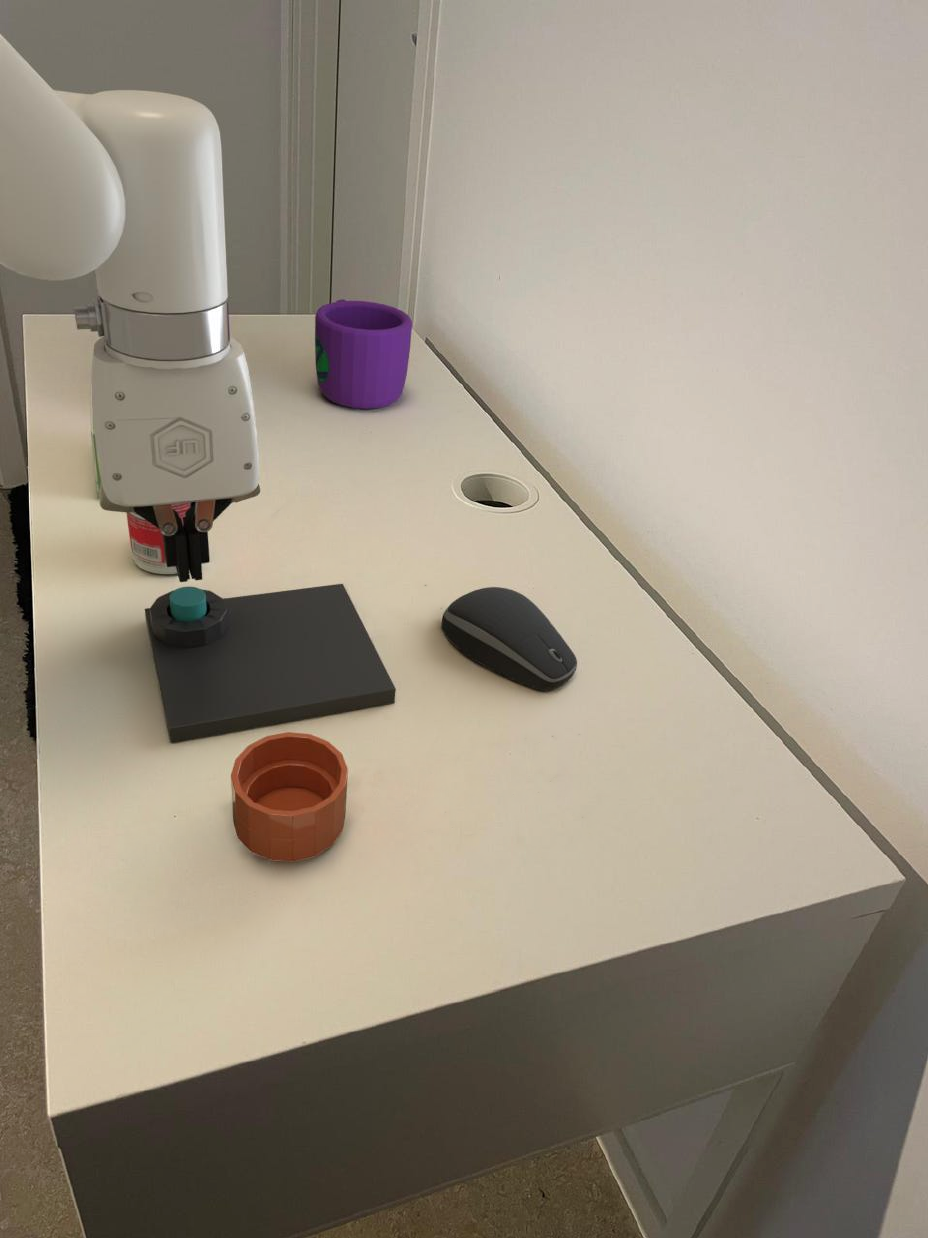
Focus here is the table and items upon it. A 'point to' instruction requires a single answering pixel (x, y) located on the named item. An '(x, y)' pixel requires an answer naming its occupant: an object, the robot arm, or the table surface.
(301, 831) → the bowl
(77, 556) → the table surface
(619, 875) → the table surface
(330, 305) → the mug
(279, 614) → the scale
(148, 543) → the pill bottle
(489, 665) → the computer mouse
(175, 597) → the button
